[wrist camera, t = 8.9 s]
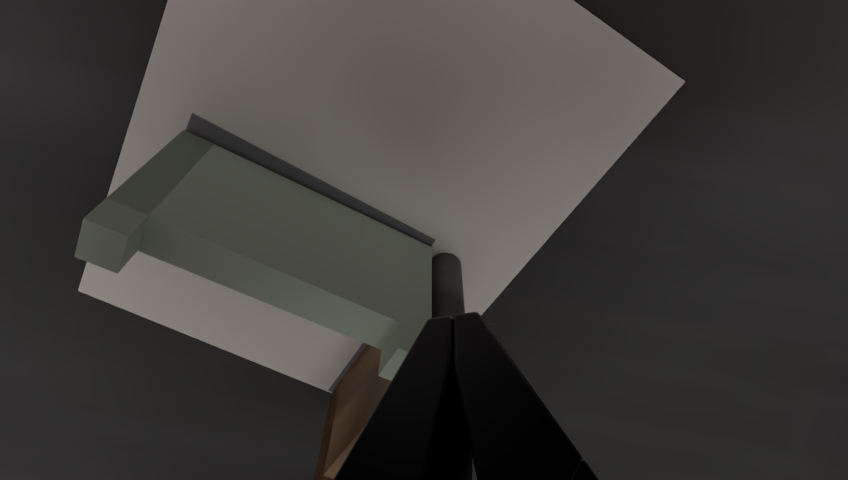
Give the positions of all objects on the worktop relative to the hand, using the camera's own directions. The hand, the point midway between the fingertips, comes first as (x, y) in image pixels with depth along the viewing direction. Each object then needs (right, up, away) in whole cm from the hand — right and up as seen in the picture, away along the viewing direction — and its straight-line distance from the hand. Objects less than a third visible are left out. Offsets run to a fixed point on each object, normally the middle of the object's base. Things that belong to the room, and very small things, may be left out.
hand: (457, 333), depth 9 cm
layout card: (-3, +3, +10) cm, 11 cm away
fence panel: (-4, +3, +9) cm, 11 cm away
